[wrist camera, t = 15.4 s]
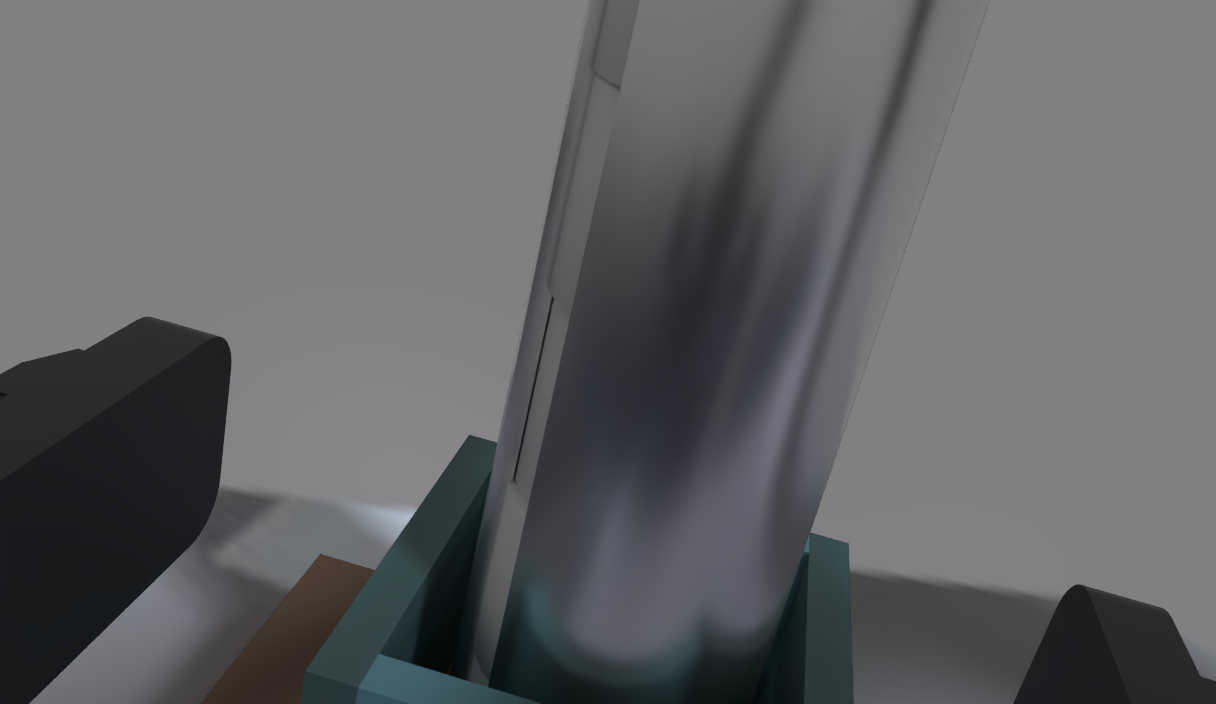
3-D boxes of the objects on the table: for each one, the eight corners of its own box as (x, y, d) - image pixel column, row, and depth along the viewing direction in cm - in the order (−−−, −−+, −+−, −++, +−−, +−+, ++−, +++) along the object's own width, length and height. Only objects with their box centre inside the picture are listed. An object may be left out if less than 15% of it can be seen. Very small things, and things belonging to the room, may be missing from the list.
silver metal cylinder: (456, 688, 29) (691, -439, 20) (700, 745, 29) (1054, -351, 20) (393, 894, 23) (685, -581, 14) (700, 964, 23) (1206, -455, 14)
